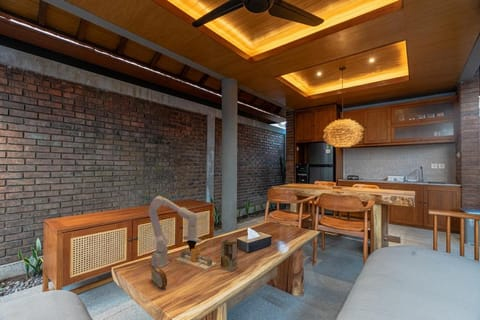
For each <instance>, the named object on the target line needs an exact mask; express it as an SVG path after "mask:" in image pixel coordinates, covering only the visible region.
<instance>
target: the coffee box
mask: <svg viewBox="0 0 480 320" xmlns="http://www.w3.org/2000/svg"><path fill="white" fill-rule="evenodd" d="M238 243H239V242H238V241H234V240H233V241H232V240H228V239H225V240H223V241H222V242H220V269H224V270H227V271H229V272H233V271H235V270H236V269H238Z"/></svg>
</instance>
